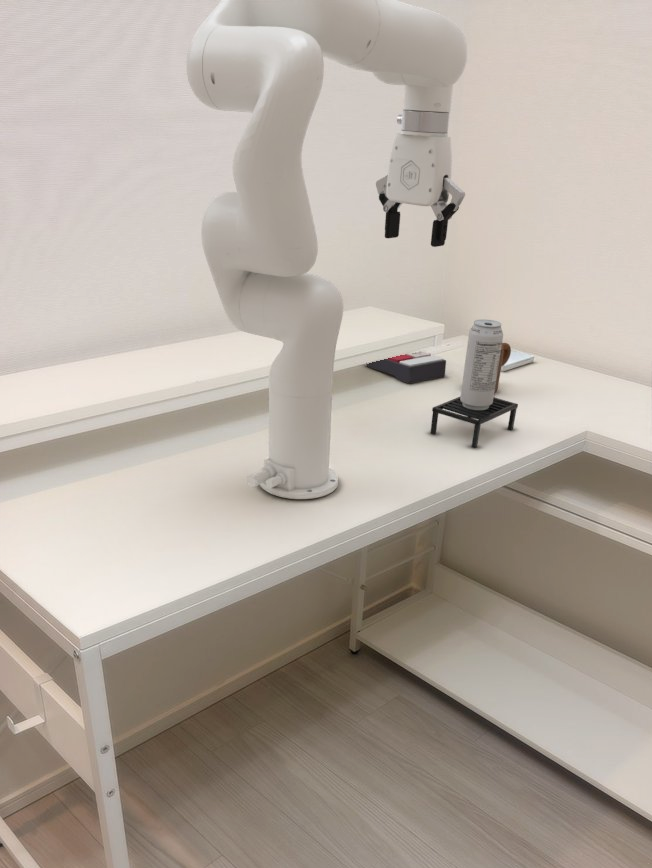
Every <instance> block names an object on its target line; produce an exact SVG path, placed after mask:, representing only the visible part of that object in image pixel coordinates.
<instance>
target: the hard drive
mask: <svg viewBox="0 0 652 868" xmlns="http://www.w3.org/2000/svg"><path fill="white" fill-rule="evenodd" d="M534 361H535V355H532V354H529V353H525V352H521V351H517V350H513V349H511V354H510V357H509V359H508V361H507V362H506V364H505V365H503V366H501V372H505V371H509V370H512V369H515V368H518V367H521V366H524V365H527V364H530V363H534Z"/></svg>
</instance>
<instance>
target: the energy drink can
mask: <svg viewBox="0 0 652 868" xmlns="http://www.w3.org/2000/svg"><path fill="white" fill-rule="evenodd" d="M503 340H504V331H503V329H502V323H501V322H500V321H497V320H494V319H493V320H492V319H486V318H485V319H481V318H480V319H476V320H474V321H473V325H472V326H471V327H470V329H469V331H468V337H467V346H466V352H465V360H464V368H463V375H462V383H461V389H460V396H461V397H460V396H459V397H460V400H461V402H462V403H463V404H462V405H463V406H464V407H465V408H468V409H472V410H486V409H488V408H489V405H491V404H492V403H493V398H494V397H495V393H494V391H495V385H496V378H497V372H498V366H499V359H500V353H501V347H502V343H503Z"/></svg>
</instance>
